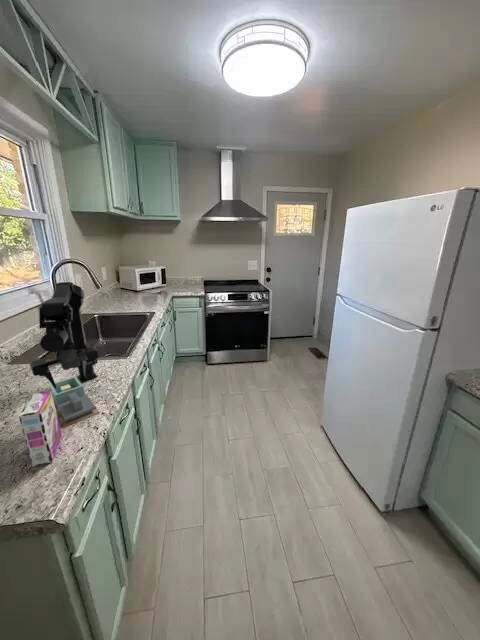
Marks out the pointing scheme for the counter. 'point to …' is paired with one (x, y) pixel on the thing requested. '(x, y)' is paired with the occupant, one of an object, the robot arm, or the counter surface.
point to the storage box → (66, 390)
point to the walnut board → (75, 420)
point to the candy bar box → (40, 428)
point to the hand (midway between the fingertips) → (71, 382)
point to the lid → (76, 406)
